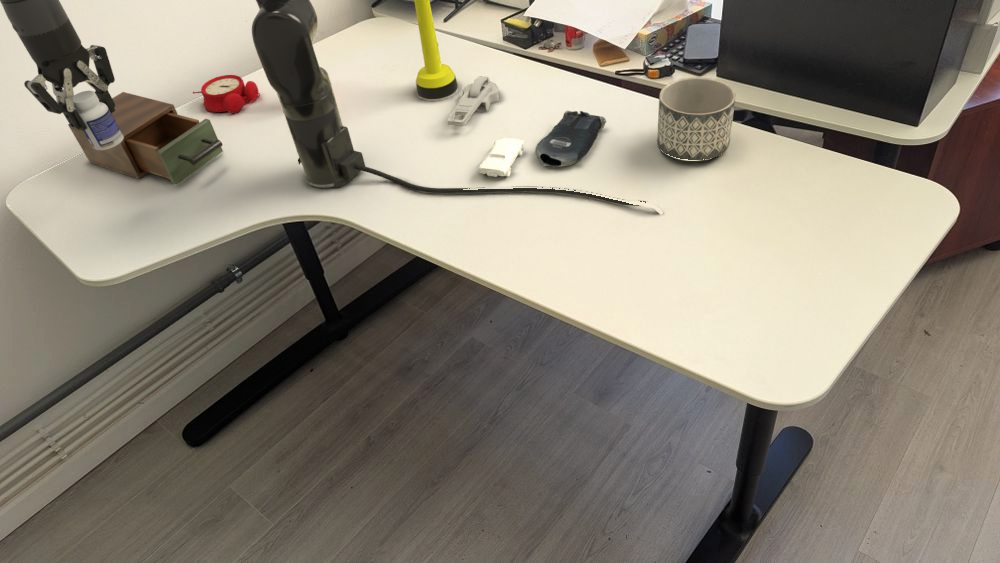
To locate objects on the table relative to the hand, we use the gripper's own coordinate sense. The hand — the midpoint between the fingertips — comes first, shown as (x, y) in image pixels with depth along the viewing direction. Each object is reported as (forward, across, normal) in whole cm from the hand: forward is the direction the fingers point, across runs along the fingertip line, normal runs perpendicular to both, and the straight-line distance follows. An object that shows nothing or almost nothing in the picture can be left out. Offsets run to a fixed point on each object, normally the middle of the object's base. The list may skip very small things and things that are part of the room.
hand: (96, 119), depth 122 cm
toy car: (+20, +36, -56) cm, 70 cm away
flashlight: (+20, +56, -30) cm, 66 cm away
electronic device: (+20, +45, -65) cm, 82 cm away
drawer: (+18, +13, +4) cm, 23 cm away
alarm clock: (+19, +36, +13) cm, 43 cm away
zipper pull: (+20, +50, -42) cm, 68 cm away
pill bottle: (+5, 0, 0) cm, 5 cm away
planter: (+20, +52, -86) cm, 103 cm away
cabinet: (+19, +14, +17) cm, 29 cm away
